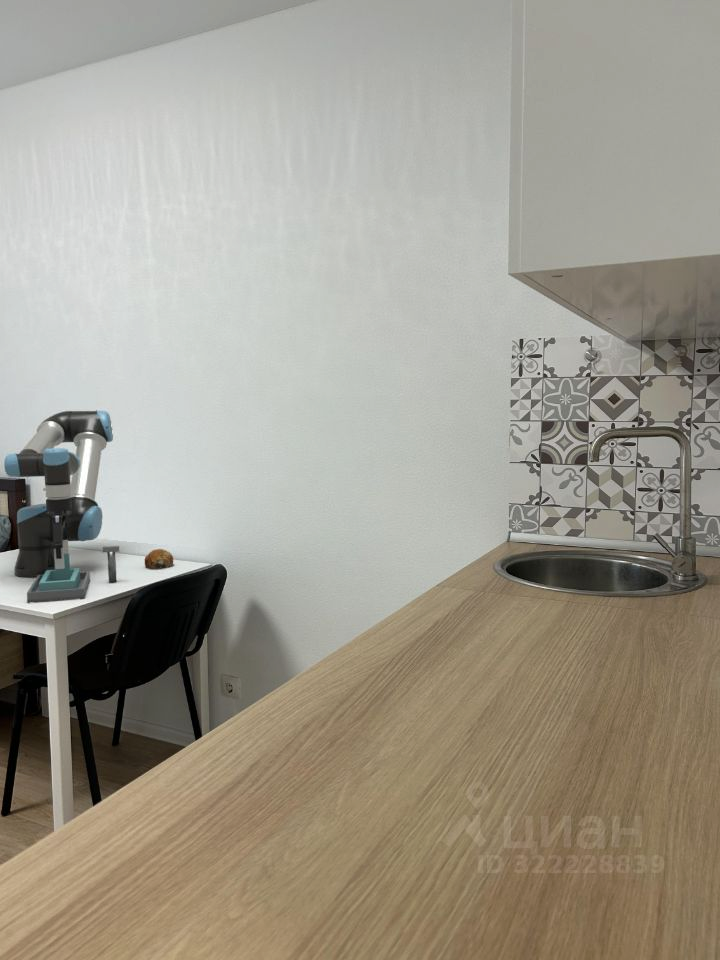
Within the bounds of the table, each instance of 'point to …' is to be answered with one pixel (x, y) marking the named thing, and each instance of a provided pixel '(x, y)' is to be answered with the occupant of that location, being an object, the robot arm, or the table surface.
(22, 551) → the robot arm
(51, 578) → the teal boxy piece
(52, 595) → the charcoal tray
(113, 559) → the t stake
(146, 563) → the bread roll
